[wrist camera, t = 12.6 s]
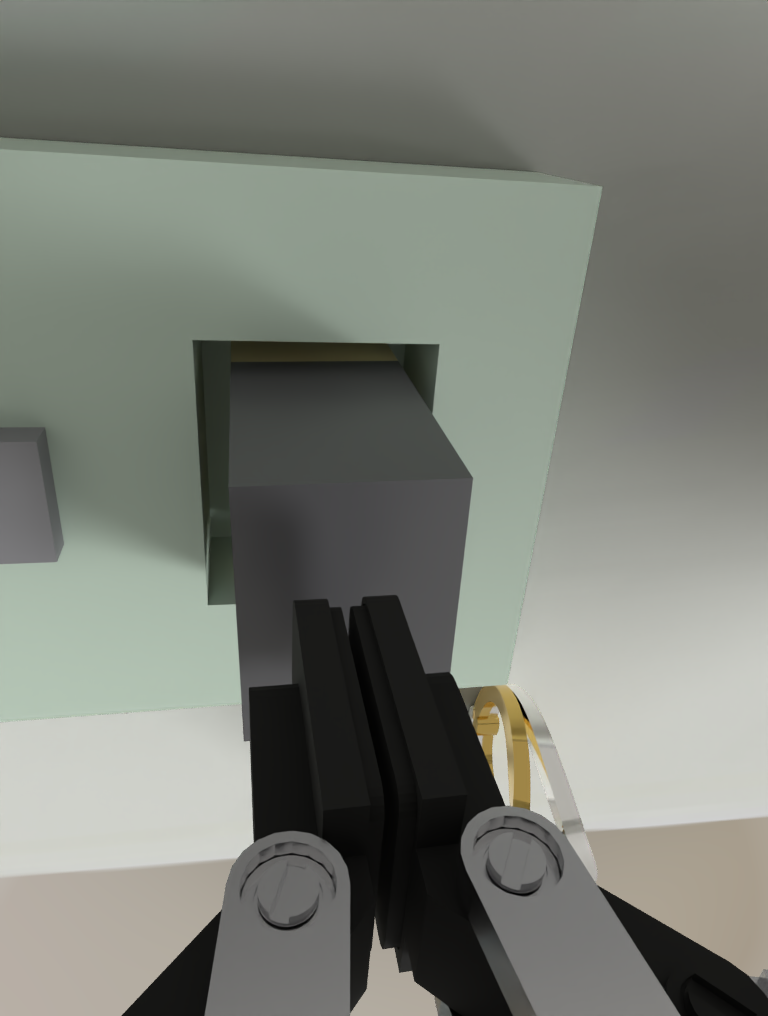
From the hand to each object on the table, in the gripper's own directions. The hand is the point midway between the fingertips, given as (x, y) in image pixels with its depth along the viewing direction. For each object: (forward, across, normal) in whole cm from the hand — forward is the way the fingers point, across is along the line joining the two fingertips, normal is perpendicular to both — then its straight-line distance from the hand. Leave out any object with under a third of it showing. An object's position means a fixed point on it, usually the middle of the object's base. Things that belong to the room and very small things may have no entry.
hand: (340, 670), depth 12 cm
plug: (+10, 0, 0) cm, 10 cm away
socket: (+11, +2, 0) cm, 11 cm away
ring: (+11, -7, +12) cm, 18 cm away
